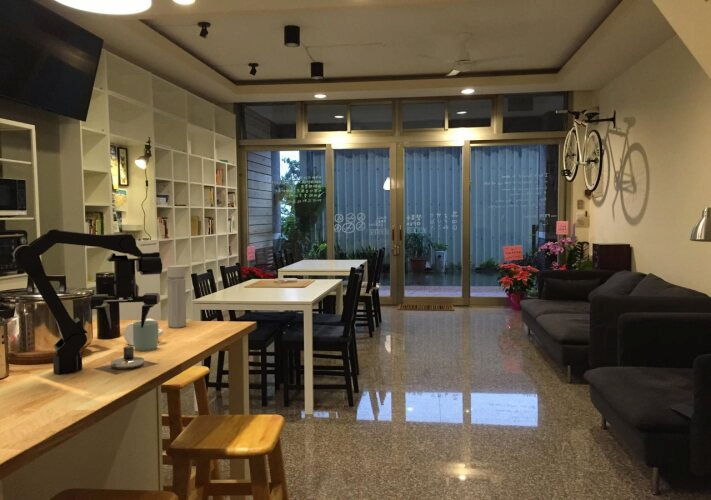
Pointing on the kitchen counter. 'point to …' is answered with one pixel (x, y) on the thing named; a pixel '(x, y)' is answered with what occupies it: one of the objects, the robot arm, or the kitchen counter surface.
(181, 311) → the water bottle
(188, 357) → the kitchen counter surface
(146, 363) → the board
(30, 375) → the kitchen counter surface
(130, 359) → the handwheel
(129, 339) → the mug
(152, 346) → the cup
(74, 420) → the kitchen counter surface
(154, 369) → the kitchen counter surface
